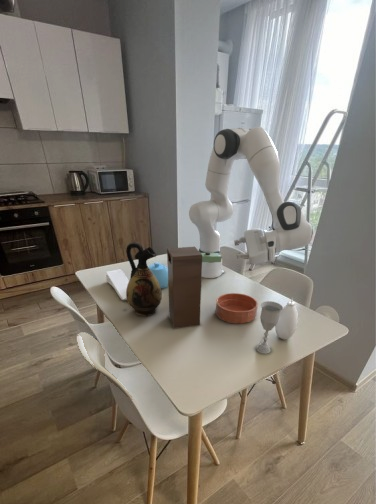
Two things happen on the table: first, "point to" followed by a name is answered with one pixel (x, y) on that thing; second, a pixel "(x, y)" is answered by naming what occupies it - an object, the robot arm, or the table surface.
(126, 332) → the table surface
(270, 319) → the chalice
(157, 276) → the sugar bowl
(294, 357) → the table surface
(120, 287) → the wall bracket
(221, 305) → the bowl
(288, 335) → the white tall oval piece
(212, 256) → the green rectangular block
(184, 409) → the table surface
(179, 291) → the stand
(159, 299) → the ceramic jug
